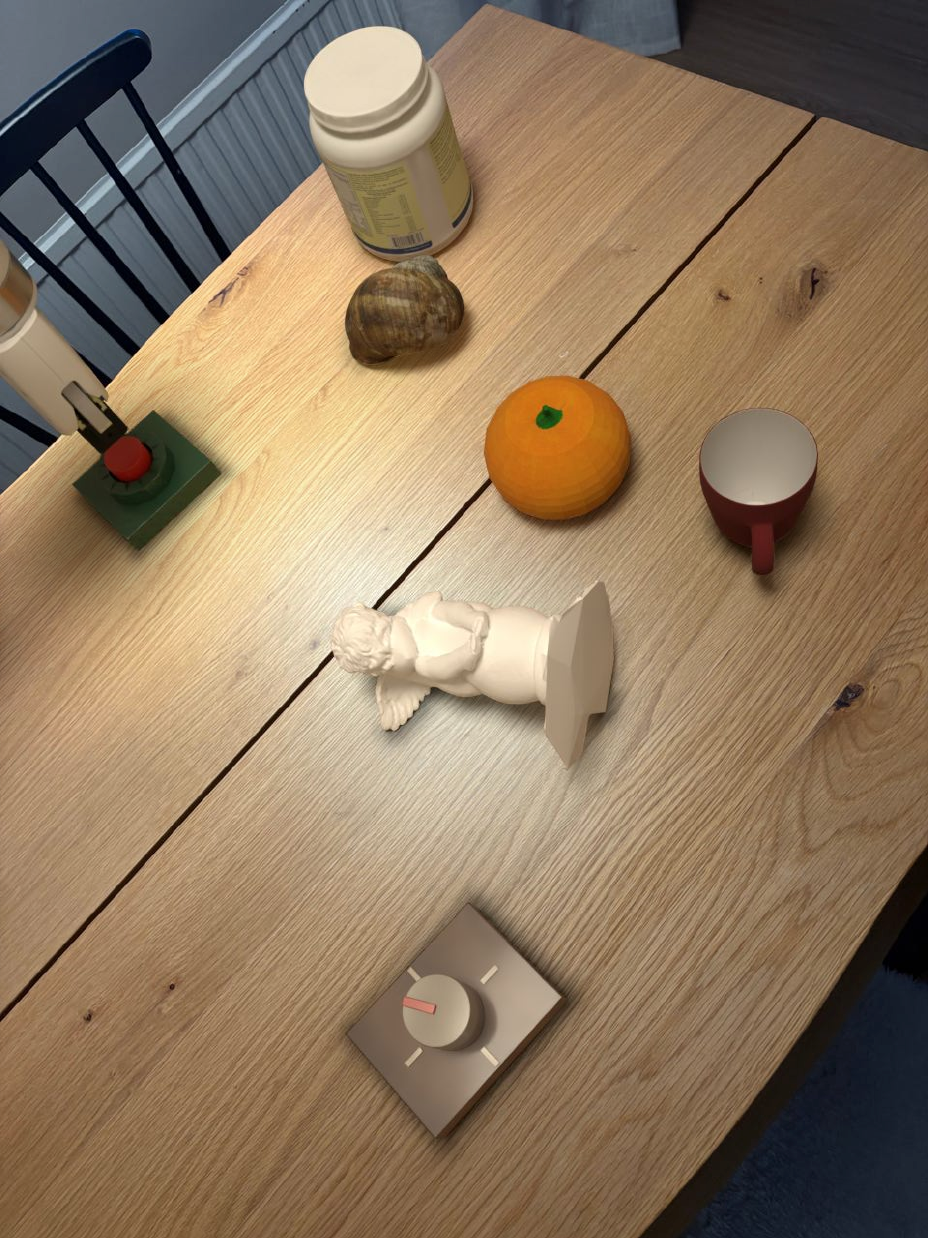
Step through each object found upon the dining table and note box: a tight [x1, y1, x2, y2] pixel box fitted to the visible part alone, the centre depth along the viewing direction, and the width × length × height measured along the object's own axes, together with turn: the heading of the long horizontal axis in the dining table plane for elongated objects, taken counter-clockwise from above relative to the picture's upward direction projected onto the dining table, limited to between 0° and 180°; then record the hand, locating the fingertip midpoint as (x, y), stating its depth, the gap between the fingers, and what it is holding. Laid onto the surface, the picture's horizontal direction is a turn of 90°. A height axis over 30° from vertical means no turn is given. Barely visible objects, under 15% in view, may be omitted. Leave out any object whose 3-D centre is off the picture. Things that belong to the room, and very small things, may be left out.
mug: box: [698, 407, 819, 577], centre depth 80 cm, size 11×8×10 cm
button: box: [104, 436, 152, 482], centre depth 96 cm, size 4×4×2 cm
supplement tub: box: [303, 25, 474, 263], centre depth 98 cm, size 12×12×17 cm
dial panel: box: [345, 901, 568, 1139], centre depth 74 cm, size 12×9×3 cm
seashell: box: [344, 255, 465, 366], centre depth 97 cm, size 11×9×8 cm
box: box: [72, 409, 222, 551], centre depth 98 cm, size 10×9×4 cm
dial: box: [402, 974, 484, 1051], centre depth 71 cm, size 4×4×5 cm
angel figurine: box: [329, 580, 615, 771], centre depth 80 cm, size 14×20×12 cm
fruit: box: [483, 375, 632, 520], centre depth 86 cm, size 12×12×10 cm
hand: (110, 437), depth 93 cm, fingers closed
